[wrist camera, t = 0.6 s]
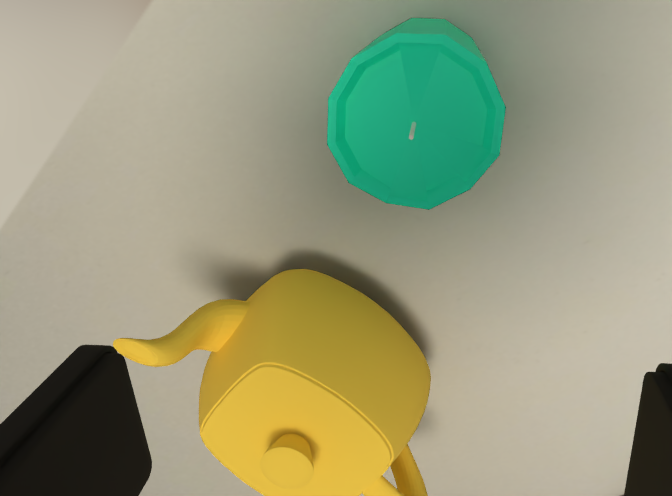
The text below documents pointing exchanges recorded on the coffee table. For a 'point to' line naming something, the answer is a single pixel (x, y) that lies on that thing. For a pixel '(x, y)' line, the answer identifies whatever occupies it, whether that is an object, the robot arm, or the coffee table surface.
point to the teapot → (304, 387)
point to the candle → (416, 115)
